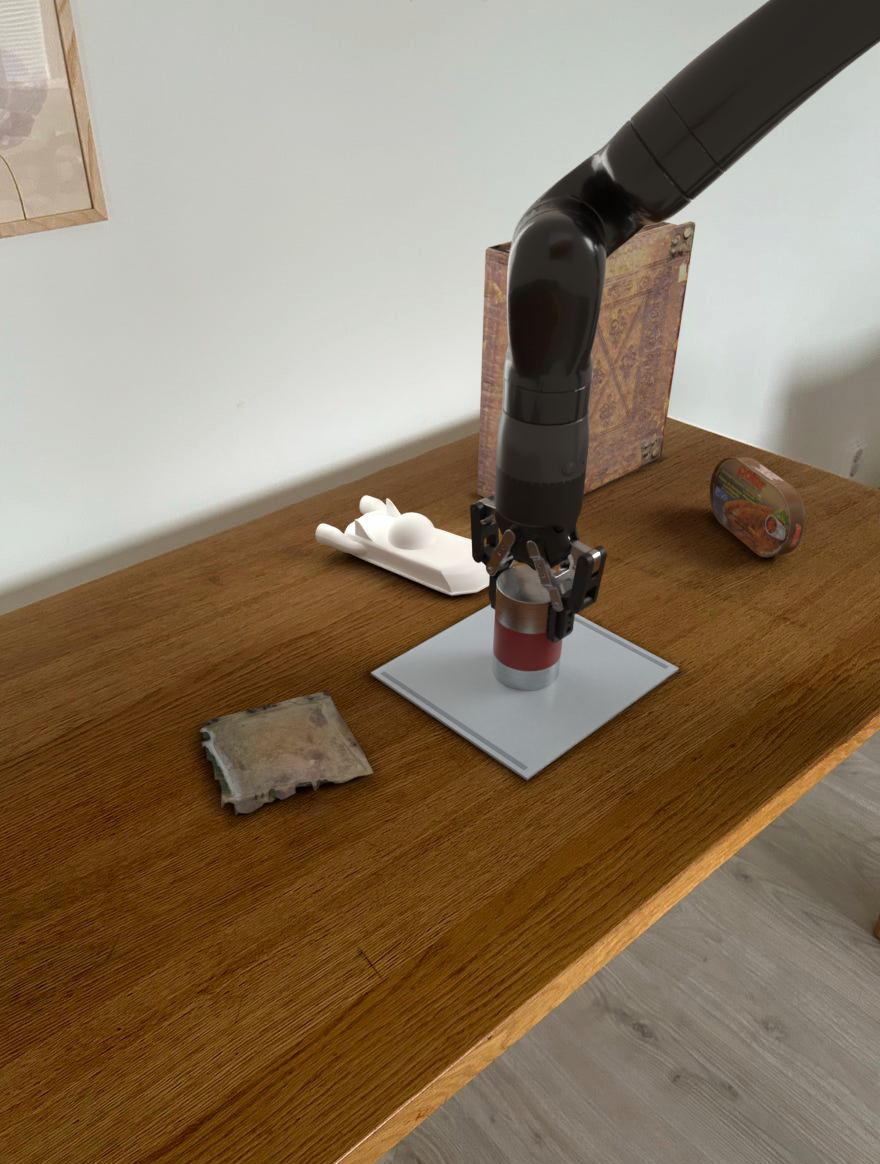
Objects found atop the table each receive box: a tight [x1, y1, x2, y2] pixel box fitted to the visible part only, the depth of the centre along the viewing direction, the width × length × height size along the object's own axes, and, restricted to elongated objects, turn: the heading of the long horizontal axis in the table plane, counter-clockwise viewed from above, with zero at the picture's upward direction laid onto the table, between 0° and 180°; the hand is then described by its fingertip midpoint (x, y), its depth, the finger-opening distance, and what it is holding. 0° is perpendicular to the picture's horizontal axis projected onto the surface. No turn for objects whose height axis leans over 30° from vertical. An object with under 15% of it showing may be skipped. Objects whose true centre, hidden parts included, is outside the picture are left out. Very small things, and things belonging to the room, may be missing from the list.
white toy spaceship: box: [314, 494, 489, 597], centre depth 112 cm, size 10×20×6 cm, turn 54°
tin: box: [709, 456, 807, 558], centre depth 115 cm, size 15×3×8 cm, turn 17°
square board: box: [370, 603, 680, 781], centre depth 98 cm, size 20×22×1 cm
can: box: [492, 564, 565, 691], centre depth 95 cm, size 6×6×10 cm
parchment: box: [198, 690, 374, 816], centre depth 89 cm, size 12×13×1 cm
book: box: [476, 220, 696, 498], centre depth 122 cm, size 25×9×30 cm, turn 131°
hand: (528, 621), depth 94 cm, fingers closed on can, 6 cm apart
